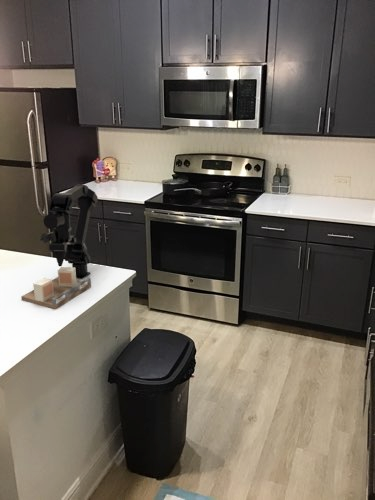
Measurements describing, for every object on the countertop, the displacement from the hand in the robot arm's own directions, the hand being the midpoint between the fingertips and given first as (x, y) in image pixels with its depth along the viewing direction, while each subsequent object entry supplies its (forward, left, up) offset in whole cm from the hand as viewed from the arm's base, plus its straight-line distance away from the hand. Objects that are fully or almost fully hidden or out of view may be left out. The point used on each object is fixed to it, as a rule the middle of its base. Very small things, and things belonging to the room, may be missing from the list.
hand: (63, 263), depth 177 cm
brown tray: (+4, 0, -12) cm, 12 cm away
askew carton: (-2, 0, -10) cm, 10 cm away
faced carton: (+12, 0, -10) cm, 16 cm away
